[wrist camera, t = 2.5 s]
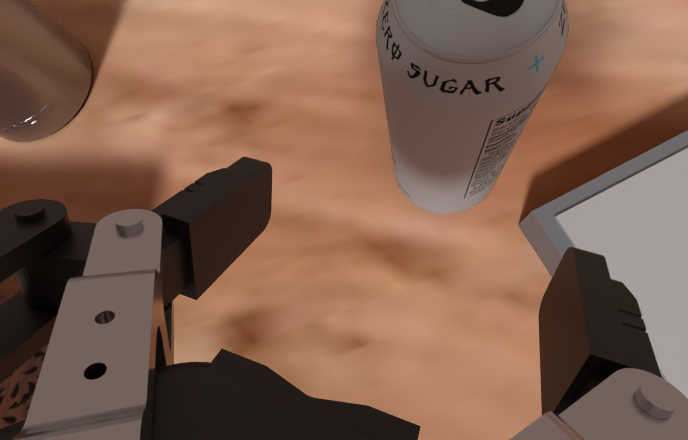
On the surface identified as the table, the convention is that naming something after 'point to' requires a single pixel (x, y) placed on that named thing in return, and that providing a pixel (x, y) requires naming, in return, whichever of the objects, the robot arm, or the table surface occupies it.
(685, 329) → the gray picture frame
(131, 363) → the robot arm
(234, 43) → the table surface
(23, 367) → the tissue box cover
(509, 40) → the energy drink can
